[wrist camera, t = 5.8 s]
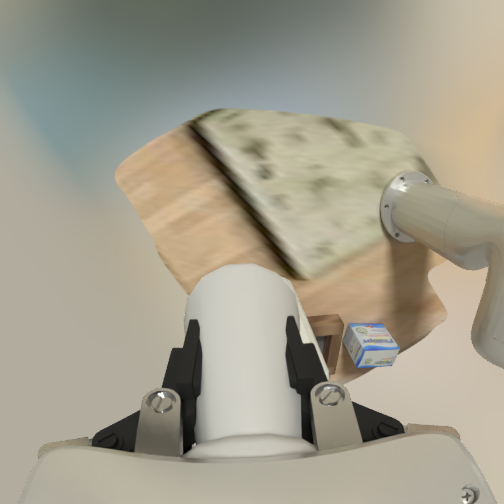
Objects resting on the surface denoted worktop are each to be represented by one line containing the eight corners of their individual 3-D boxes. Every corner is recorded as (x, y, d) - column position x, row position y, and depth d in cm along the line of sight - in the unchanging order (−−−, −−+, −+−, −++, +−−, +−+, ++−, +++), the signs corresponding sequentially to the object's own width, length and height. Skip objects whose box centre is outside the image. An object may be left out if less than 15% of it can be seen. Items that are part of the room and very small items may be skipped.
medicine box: (382, 322, 52) (401, 348, 44) (375, 340, 54) (392, 366, 46) (348, 322, 52) (364, 350, 44) (341, 341, 53) (356, 369, 45)
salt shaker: (221, 349, 18) (216, 551, 6) (171, 277, 16) (87, 501, 4) (305, 312, 17) (383, 516, 5) (265, 230, 15) (346, 469, 3)
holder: (338, 314, 51) (344, 324, 47) (329, 362, 55) (334, 374, 51) (273, 319, 50) (275, 330, 47) (271, 368, 54) (274, 380, 51)
